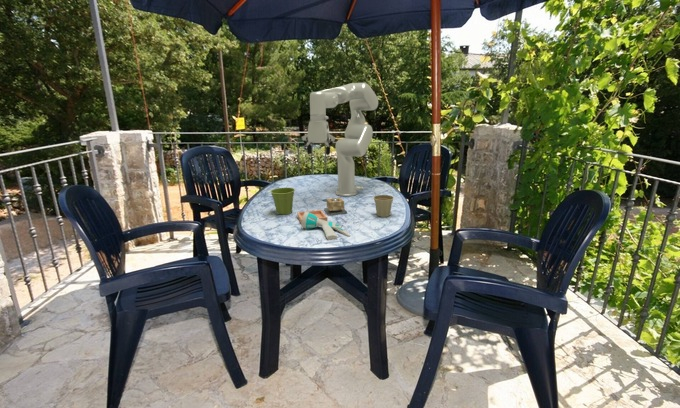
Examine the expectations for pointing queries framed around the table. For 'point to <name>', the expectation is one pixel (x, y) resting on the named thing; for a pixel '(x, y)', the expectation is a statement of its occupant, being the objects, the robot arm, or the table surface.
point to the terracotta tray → (318, 213)
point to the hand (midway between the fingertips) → (318, 154)
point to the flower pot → (383, 205)
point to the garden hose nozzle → (312, 222)
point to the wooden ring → (335, 204)
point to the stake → (335, 212)
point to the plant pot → (283, 200)
